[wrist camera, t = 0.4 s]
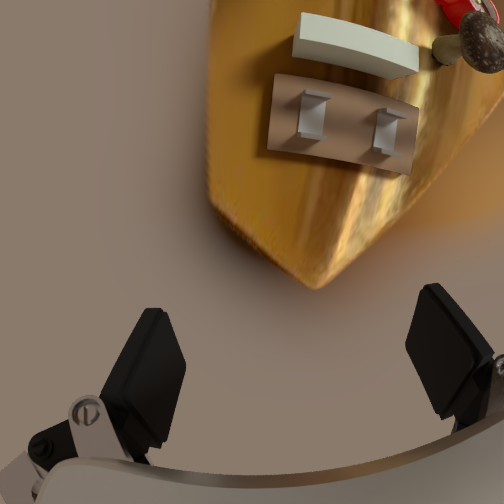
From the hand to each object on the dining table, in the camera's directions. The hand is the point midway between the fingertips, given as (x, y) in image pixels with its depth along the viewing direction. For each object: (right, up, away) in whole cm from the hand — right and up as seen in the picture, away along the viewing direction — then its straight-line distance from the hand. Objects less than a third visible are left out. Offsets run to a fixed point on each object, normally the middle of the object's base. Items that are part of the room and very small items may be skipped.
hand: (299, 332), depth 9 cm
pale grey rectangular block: (+11, +29, +18) cm, 36 cm away
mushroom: (+26, +33, +15) cm, 45 cm away
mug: (+31, +43, +10) cm, 54 cm away
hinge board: (+11, +20, +22) cm, 31 cm away
